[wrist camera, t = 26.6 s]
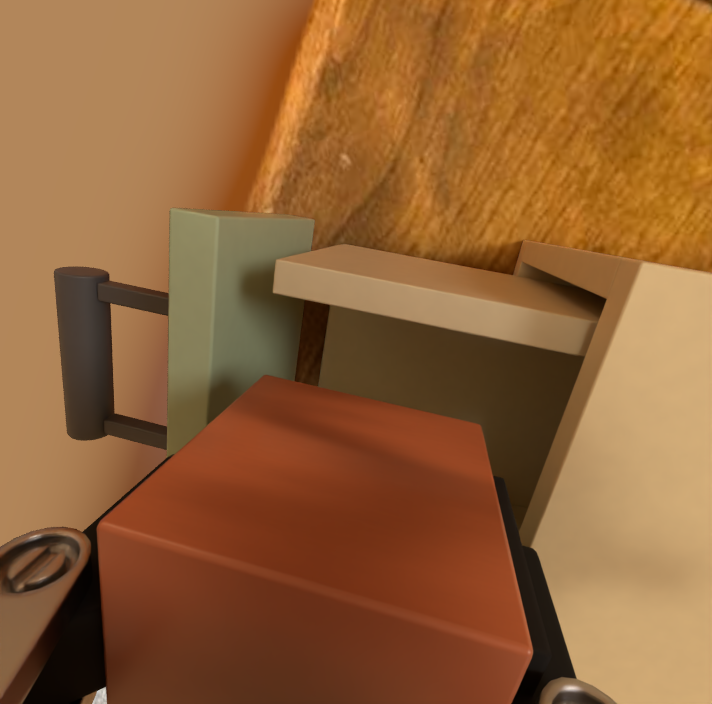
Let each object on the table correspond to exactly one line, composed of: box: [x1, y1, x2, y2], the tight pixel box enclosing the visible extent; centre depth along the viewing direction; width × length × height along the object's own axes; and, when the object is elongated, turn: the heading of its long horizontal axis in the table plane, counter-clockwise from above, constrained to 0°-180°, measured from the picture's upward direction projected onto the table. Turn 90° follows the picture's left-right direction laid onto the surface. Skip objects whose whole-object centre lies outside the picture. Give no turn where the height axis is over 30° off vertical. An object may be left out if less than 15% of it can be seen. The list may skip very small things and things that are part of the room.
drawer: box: [54, 208, 607, 532], centre depth 14 cm, size 19×11×8 cm, turn 80°
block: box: [97, 375, 533, 704], centre depth 8 cm, size 5×5×5 cm
